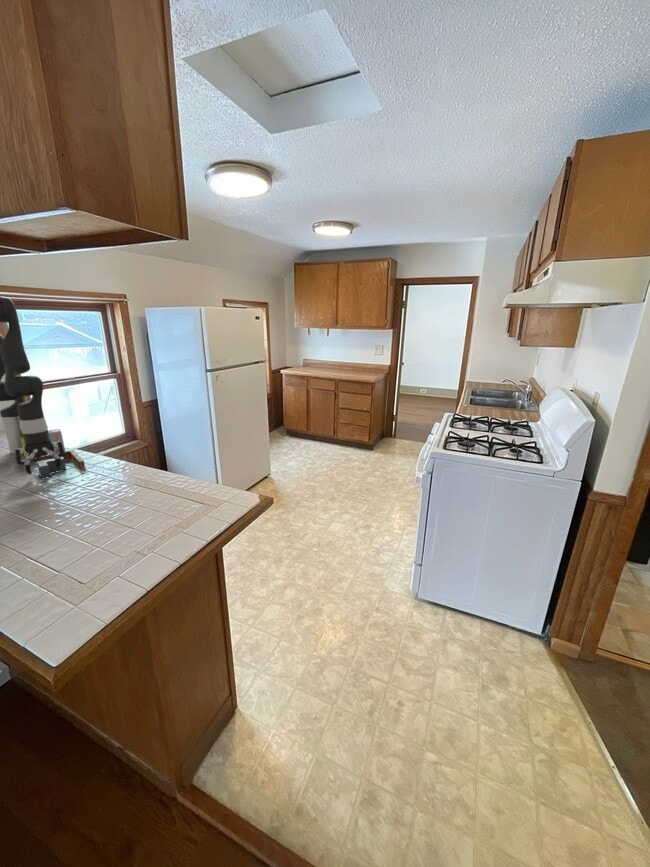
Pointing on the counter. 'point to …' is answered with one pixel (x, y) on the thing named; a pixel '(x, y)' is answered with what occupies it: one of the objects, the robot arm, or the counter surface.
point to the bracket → (50, 467)
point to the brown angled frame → (69, 458)
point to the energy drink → (56, 439)
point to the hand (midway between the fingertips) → (44, 470)
